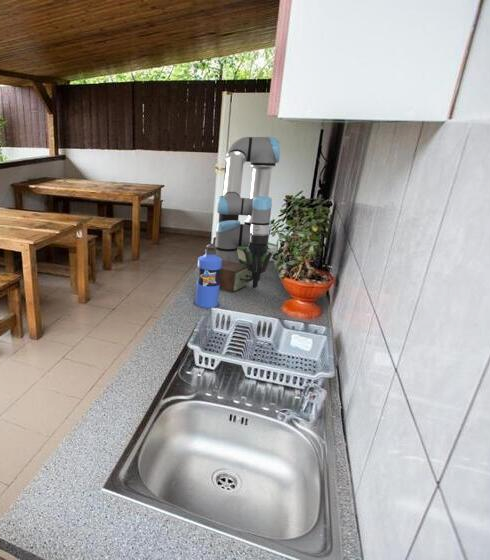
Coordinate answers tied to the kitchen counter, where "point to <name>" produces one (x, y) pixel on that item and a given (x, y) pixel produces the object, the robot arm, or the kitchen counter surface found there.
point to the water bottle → (208, 278)
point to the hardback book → (241, 254)
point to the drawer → (241, 279)
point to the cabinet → (229, 275)
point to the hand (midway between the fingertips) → (254, 287)
